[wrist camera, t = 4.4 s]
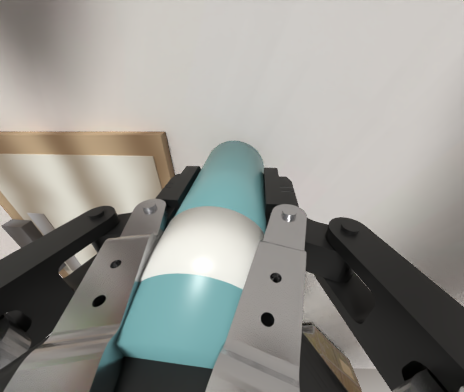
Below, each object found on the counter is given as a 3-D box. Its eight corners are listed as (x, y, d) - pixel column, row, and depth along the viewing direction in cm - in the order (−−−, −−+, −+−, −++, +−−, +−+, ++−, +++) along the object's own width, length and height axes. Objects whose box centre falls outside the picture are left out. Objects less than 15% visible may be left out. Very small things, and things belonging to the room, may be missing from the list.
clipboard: (165, 131, 14) (152, 140, 12) (203, 307, 27) (199, 322, 25) (-47, 131, 16) (-81, 138, 14) (86, 294, 29) (76, 307, 27)
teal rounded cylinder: (265, 133, 13) (289, 361, 3) (262, 184, 15) (269, 415, 5) (208, 133, 13) (54, 329, 3) (213, 182, 15) (129, 391, 5)
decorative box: (274, 361, 35) (278, 448, 27) (212, 307, 27) (192, 409, 19) (352, 356, 30) (385, 461, 22) (307, 288, 22) (335, 416, 14)
